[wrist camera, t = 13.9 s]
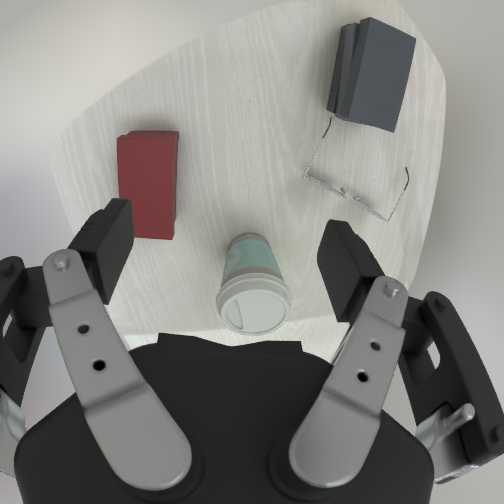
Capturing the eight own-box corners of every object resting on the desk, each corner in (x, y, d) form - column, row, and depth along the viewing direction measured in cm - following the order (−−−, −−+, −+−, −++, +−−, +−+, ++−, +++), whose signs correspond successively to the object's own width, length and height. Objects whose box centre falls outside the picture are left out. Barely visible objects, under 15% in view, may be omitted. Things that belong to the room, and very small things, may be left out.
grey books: (339, 24, 23) (365, 15, 18) (384, 39, 24) (417, 37, 18) (323, 112, 30) (345, 123, 24) (368, 123, 31) (396, 137, 25)
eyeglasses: (296, 170, 34) (305, 180, 31) (326, 114, 31) (339, 117, 27) (378, 213, 38) (391, 226, 35) (405, 166, 35) (422, 175, 31)
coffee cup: (233, 215, 37) (234, 274, 27) (290, 237, 40) (309, 298, 30) (209, 263, 41) (204, 328, 32) (262, 281, 44) (271, 345, 34)
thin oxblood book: (121, 134, 27) (116, 138, 26) (176, 135, 28) (174, 138, 26) (126, 229, 34) (123, 236, 32) (174, 233, 34) (172, 240, 33)
